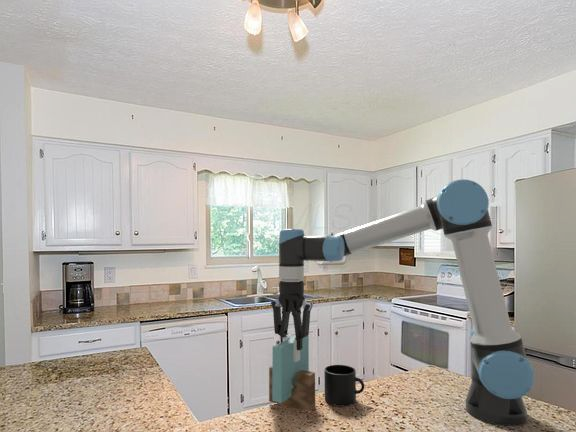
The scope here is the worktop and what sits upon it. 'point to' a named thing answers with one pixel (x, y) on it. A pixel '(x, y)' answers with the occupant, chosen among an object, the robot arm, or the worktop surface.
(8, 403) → the worktop surface
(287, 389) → the teal flat block
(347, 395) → the mug
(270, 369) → the walnut u-shaped block
